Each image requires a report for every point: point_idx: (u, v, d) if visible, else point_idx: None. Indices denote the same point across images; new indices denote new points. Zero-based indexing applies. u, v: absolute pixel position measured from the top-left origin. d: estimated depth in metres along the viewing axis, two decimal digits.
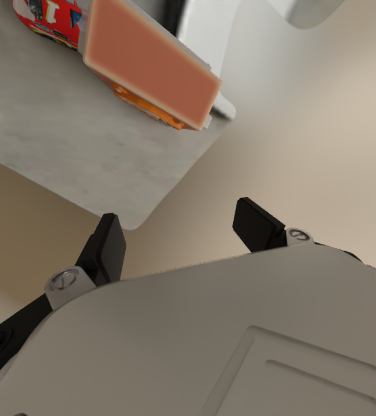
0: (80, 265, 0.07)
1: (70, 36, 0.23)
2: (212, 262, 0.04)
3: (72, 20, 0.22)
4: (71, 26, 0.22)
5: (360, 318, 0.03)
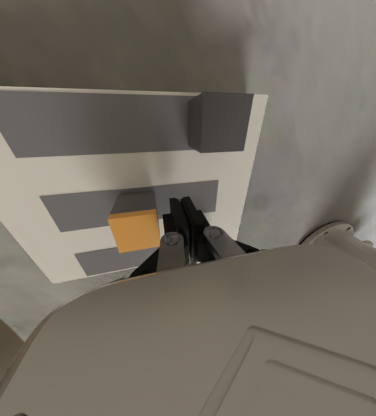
0: None
1: None
2: (212, 262, 0.04)
3: None
4: None
5: (360, 318, 0.03)
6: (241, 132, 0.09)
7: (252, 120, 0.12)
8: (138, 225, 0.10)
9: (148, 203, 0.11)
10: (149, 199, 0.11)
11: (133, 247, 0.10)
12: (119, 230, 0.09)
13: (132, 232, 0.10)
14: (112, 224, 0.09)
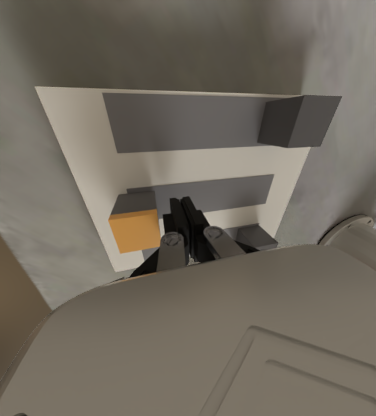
0: None
1: None
2: (212, 262, 0.04)
3: None
4: None
5: (360, 318, 0.03)
6: (323, 129, 0.10)
7: None
8: (139, 225, 0.10)
9: (149, 203, 0.11)
10: (149, 199, 0.11)
11: (134, 247, 0.10)
12: (120, 231, 0.09)
13: (133, 233, 0.10)
14: (113, 225, 0.09)
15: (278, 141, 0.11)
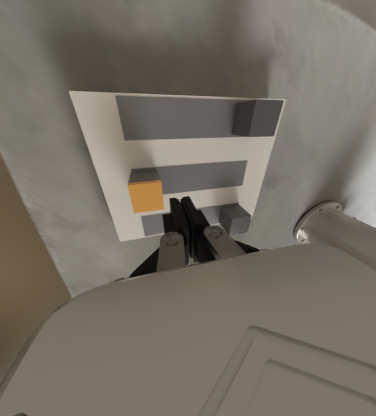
0: None
1: None
2: (212, 262, 0.04)
3: None
4: None
5: (360, 318, 0.03)
6: (274, 124, 0.14)
7: None
8: (148, 191, 0.13)
9: (154, 177, 0.14)
10: (154, 175, 0.15)
11: (144, 209, 0.14)
12: (135, 194, 0.13)
13: (144, 196, 0.14)
14: (130, 189, 0.13)
15: (243, 132, 0.15)
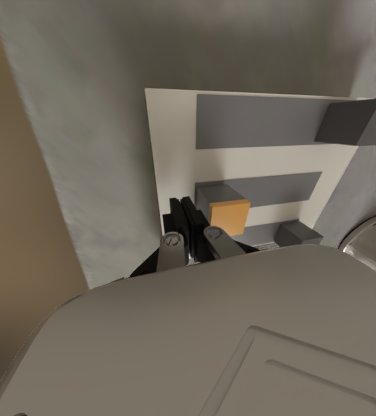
0: None
1: None
2: (212, 262, 0.04)
3: None
4: None
5: (360, 318, 0.03)
6: None
7: None
8: (233, 213, 0.11)
9: (234, 194, 0.12)
10: (230, 191, 0.12)
11: None
12: (217, 217, 0.10)
13: (226, 220, 0.11)
14: (214, 212, 0.10)
15: (343, 139, 0.12)
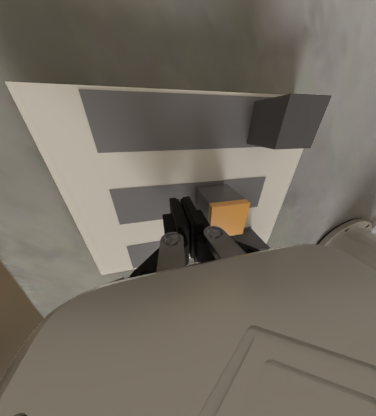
0: None
1: None
2: (212, 262, 0.04)
3: None
4: None
5: (360, 318, 0.03)
6: (312, 130, 0.10)
7: None
8: (233, 213, 0.11)
9: (233, 194, 0.12)
10: (230, 191, 0.12)
11: None
12: (217, 217, 0.10)
13: (226, 220, 0.11)
14: (214, 212, 0.10)
15: (266, 142, 0.10)
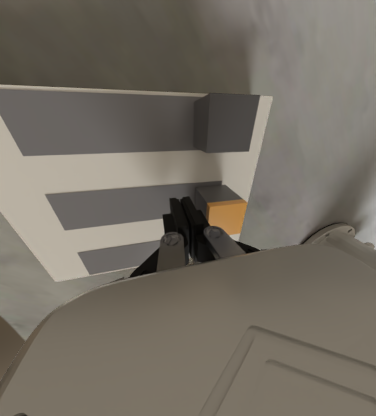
0: None
1: None
2: (212, 262, 0.04)
3: None
4: None
5: (360, 318, 0.03)
6: (247, 133, 0.09)
7: (256, 121, 0.12)
8: (230, 213, 0.11)
9: (231, 194, 0.12)
10: (228, 191, 0.12)
11: None
12: (214, 217, 0.11)
13: (223, 219, 0.11)
14: (211, 211, 0.10)
15: (202, 145, 0.10)
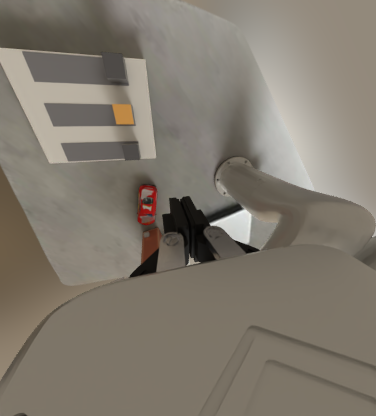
0: None
1: (140, 212, 0.40)
2: (212, 262, 0.04)
3: (148, 214, 0.41)
4: (145, 213, 0.41)
5: (360, 318, 0.03)
6: (122, 69, 0.23)
7: (141, 71, 0.26)
8: (123, 109, 0.25)
9: None
10: None
11: (122, 122, 0.26)
12: (116, 110, 0.25)
13: (121, 113, 0.25)
14: (113, 107, 0.24)
15: None
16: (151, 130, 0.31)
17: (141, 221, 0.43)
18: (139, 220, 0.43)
